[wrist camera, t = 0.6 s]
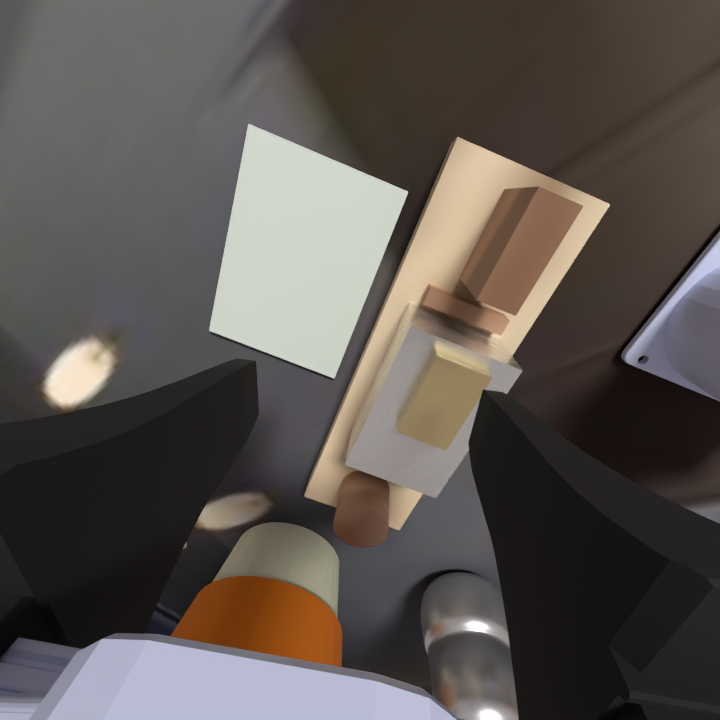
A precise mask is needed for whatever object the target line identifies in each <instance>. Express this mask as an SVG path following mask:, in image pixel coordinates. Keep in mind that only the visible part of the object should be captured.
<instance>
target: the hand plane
mask: <svg viewBox="0 0 720 720" xmlns="http://www.w3.org/2000/svg"><path fill="white" fill-rule="evenodd" d="M609 206H610V204H608V203H606V202H604V201H602V200H599V199H597V198H595V197H592V196H590V195H588V194H586V193H583V192H581V191H579V190H577V189H574V188H572V187H570V186H568V185H565V184H563V183H561V182H559V181H556V180H554V179H552V178H549V177H547V176H545V175H543V174H540V173H538V172H536V171H534V170H531V169H529V168H527V167H525V166H522V165H520V164H518V163H515V162H513V161H511V160H509V159H506V158H504V157H502V156H500V155H497V154H495V153H493V152H491V151H488V150H486V149H484V148H482V147H479V146H477V145H475V144H472V143H470V142H468V141H466V140H463V139H461V138H459V137H457V138H456V139H455V140H454V141H453V142H452V143H451V145H450V147H449V150H448V152H447V154H446V157H445V159H444V161H443V164H442V166H441V169H440V171H439V173H438V176H437V178H436V180H435V183H434V185H433V187H432V190H431V192H430V194H429V197H428V199H427V202H426V204H425V206H424V209H423V211H422V213H421V216H420V218H419V220H418V223H417V225H416V228H415V230H414V232H413V235H412V237H411V239H410V242H409V244H408V246H407V249H406V251H405V254H404V256H403V258H402V261H401V263H400V265H399V268H398V270H397V272H396V275H395V277H394V279H393V282H392V284H391V287H390V289H389V291H388V294H387V296H386V298H385V301H384V303H383V305H382V308H381V310H380V313H379V315H378V317H377V320H376V322H375V324H374V327H373V329H372V331H371V334H370V336H369V339H368V341H367V343H366V346H365V348H364V350H363V353H362V355H361V357H360V360H359V362H358V365H357V367H356V369H355V372H354V374H353V376H352V379H351V381H350V383H349V386H348V388H347V390H346V393H345V395H344V398H343V400H342V402H341V405H340V407H339V409H338V412H337V414H336V416H335V419H334V421H333V424H332V426H331V428H330V431H329V433H328V435H327V438H326V440H325V442H324V445H323V447H322V450H321V452H320V454H319V457H318V459H317V461H316V464H315V466H314V468H313V471H312V473H311V476H310V479H309V482H308V485H307V488H306V491H305V494H304V497H307V498H310V499H313V500H316V501H318V502H321V503H324V504H327V505H330V506H332V507H335V508H336V512H335V517H334V522H333V529H334V532H335V534H336V535H337V536H338V537H339V539H341V540H342V541H343V542H345V543H347V544H349V545H352V546H356V547H372V546H376V545H378V544H380V543H381V542H383V541H384V540H385V539H386V537H387V535H388V527H391V528H394V529H397V530H400V528H401V527H402V525H403V524H404V522H405V521H406V519H407V518H408V516H409V514H410V513H411V511H412V510H413V508H414V507H415V505H416V504H417V502H418V501H419V499H420V497H421V496H422V494H423V493H420V492H417V491H414V490H412V489H409V488H406V487H404V486H401V485H398V484H395V483H393V482H390V481H387V480H384V479H382V478H379V477H376V476H374V475H371V474H368V473H365V472H363V471H360V470H357V469H354V468H352V467H349V466H346V465H345V462H346V457H347V452H348V447H349V442H350V437H351V432H352V427H353V423H354V421H355V419H356V417H357V414H358V412H359V410H360V408H361V406H362V404H363V401H364V399H365V397H366V395H367V393H368V390H369V388H370V386H371V384H372V382H373V380H374V377H375V375H376V373H377V371H378V369H379V366H380V364H381V362H382V360H383V358H384V355H385V353H386V351H387V349H388V347H389V345H390V342H391V340H392V338H393V336H394V334H395V331H396V329H397V327H398V325H399V323H400V321H401V318H402V316H403V314H404V312H405V310H406V307H407V305H408V303H409V302H410V303H412V304H415V305H417V306H420V307H422V308H425V309H427V310H430V311H432V312H435V313H437V314H439V315H442V316H444V317H447V318H449V319H452V320H454V321H457V322H459V323H462V324H464V325H467V326H469V327H472V328H474V329H477V330H479V331H482V332H484V333H487V334H489V335H491V336H494V337H496V338H499V339H501V341H502V342H503V343H504V345H505V346H506V348H507V349H508V350H509V352H510V353H511V355H513V354H514V352H515V351H516V349H517V348H518V346H519V345H520V343H521V342H522V340H523V338H524V337H525V335H526V334H527V332H528V331H529V329H530V328H531V326H532V325H533V323H534V322H535V320H536V318H537V317H538V315H539V314H540V312H541V311H542V309H543V308H544V306H545V305H546V303H547V301H548V300H549V298H550V297H551V295H552V294H553V292H554V291H555V289H556V288H557V286H558V284H559V283H560V281H561V280H562V278H563V277H564V275H565V274H566V272H567V271H568V269H569V267H570V266H571V264H572V263H573V261H574V260H575V258H576V257H577V255H578V254H579V252H580V251H581V249H582V247H583V246H584V244H585V243H586V241H587V240H588V238H589V237H590V235H591V234H592V232H593V230H594V229H595V227H596V226H597V224H598V223H599V221H600V220H601V218H602V217H603V215H604V213H605V212H606V210H607V209H608V207H609Z"/></svg>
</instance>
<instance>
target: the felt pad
mask: <svg viewBox="0 0 720 720" xmlns="http://www.w3.org/2000/svg"><path fill="white" fill-rule="evenodd" d="M407 194H408V192H407V191H405V190H403V189H400V188H398V187H396V186H393V185H391V184H389V183H386V182H384V181H382V180H379V179H377V178H375V177H372V176H370V175H368V174H365V173H363V172H361V171H358V170H356V169H353V168H351V167H349V166H346V165H344V164H342V163H339V162H337V161H335V160H332V159H330V158H328V157H325V156H323V155H321V154H318V153H316V152H314V151H311V150H309V149H307V148H304V147H302V146H300V145H297V144H295V143H292V142H290V141H288V140H285V139H283V138H281V137H278V136H276V135H274V134H271V133H269V132H267V131H264V130H262V129H260V128H257V127H255V126H253V125H250V124H248V129H247V134H246V139H245V145H244V150H243V155H242V160H241V166H240V171H239V176H238V181H237V187H236V192H235V197H234V202H233V208H232V213H231V218H230V223H229V229H228V234H227V239H226V244H225V250H224V255H223V260H222V265H221V271H220V276H219V281H218V286H217V292H216V297H215V302H214V307H213V313H212V318H211V323H210V328H209V331H211V332H214V333H216V334H219V335H221V336H224V337H227V338H229V339H232V340H234V341H237V342H240V343H242V344H245V345H248V346H250V347H253V348H255V349H258V350H261V351H263V352H266V353H268V354H271V355H274V356H276V357H279V358H282V359H284V360H287V361H289V362H292V363H295V364H297V365H300V366H302V367H305V368H308V369H310V370H313V371H316V372H318V373H321V374H323V375H326V376H329V377H331V378H335V376H336V373H337V371H338V368H339V366H340V363H341V361H342V358H343V355H344V353H345V350H346V348H347V345H348V343H349V340H350V338H351V335H352V333H353V330H354V328H355V325H356V323H357V320H358V318H359V315H360V313H361V310H362V308H363V305H364V303H365V300H366V298H367V295H368V293H369V290H370V287H371V285H372V282H373V280H374V277H375V275H376V272H377V270H378V267H379V265H380V262H381V260H382V257H383V255H384V252H385V250H386V247H387V245H388V242H389V240H390V237H391V235H392V232H393V230H394V227H395V225H396V222H397V219H398V217H399V214H400V212H401V209H402V207H403V204H404V202H405V199H406V197H407Z"/></svg>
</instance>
